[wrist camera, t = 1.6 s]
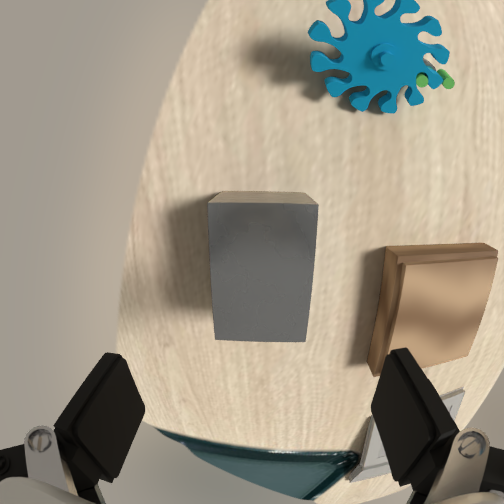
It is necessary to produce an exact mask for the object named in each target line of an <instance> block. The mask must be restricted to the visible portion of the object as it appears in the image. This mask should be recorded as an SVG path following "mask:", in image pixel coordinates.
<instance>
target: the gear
mask: <svg viewBox="0 0 504 504" xmlns="http://www.w3.org/2000/svg"><path fill="white" fill-rule="evenodd" d="M363 2H364V10H363V13H362V16H361V18H360V19H359V20H358V21H350V20H349V18H348V15H349V13H350V10H351V4H350V2H349V1H348V0H328V1H326V5H327V7H328V9H330V10H331V11H332V12H333V13H334V14H336V15H337V16H338V17H339V18H340V19H341V21H342V23H343V26H344V30H345V33H344V35H343V36H342V37H340V38H334V37H332V36H331V33H330V30H329V28H328V27H327V25H326V24H325V23H324V22H322V21H318V20H317V21H316V22H314V23H313V24H312V25H311V27H310V29H309V30H308V34H309V36H310V37H311V38H312V39H313V40H315V41H319V42H325V43H329V44H331V45H333V46H334V47H336V48H337V49H338V50H339V51H340V52H341V55H340V57H339V58H337V59H330V58H328V57H327V56H326V55H325V54H324V53H322V52H320V51H312V52H311V55H310V64H311V68H312V70H313V71H315V72H322V71H325V70H329V69H339V70H343V71H346V72H349V73H350V74H349V76H348V77H347V78H345V79H340V78H337V77H332V76H331V77H327V78H326V79H325V80H324V81H325V85H326V87H327V90H328V92H329V93H330V95H331V96H332V97H338V96H340V95H341V94H342V93H343V92H344V91H346V90H347V89H349V88H351V87H355V86H362V85H364V86H367V88H366V89H365V90H364V91H361V92H354V93H352V94H351V95H350V96H349V100H350V102H351V105H352V106H353V107H354V108H356V109H358V110H360V111H362V112H363V111H365V110H366V109H367V108H368V105H369V102H370V100H371V99H372V98H373V97H374V96H375V95H376V94H378V93H379V92H381V91H383V90H388V92H387V94H386V95H384V96H382V97H381V98H380V99H379V100H378V105H379V107H380V109H381V111H383V112H385V113H395V112H396V111H397V105H396V97H397V94H398V92H399V91H400V89H401V87H403V86H405V85H408V88H407V90H406V92H405V98H406V99H407V101H408V103H409V104H410V105H411V106H414V105H418V104H421V103H423V102H424V98H423V96H422V95H421V93H420V92H419V91H418V89H417V86H416V84H417V85H418V86H419V87H425V86H426V85H427V84H428V85H429V86H430V87H431V88H432V89H435V88H437V87H438V86H439V85H441V84H442V85H443V86H444V87H445V88H446V89H451V88H453V87H454V84H455V82H454V80H453V79H452V78H451V77H450V76H449V75H448V73H447V72H446V71H445V70H443V69H440V70H438V71H437V72H436V69H435V67H434V66H433V65H432V64H431V63H430V62H429V61H427V60H425V59H424V58H423V56H424V55H425V54H426V53H431V55H432V56H433V57H434V58H435V59H436V60H437V61H438V62H439V63H441V64H446V63H447V61H448V58H449V53H450V52H449V51H448V50H447V49H446V48H445V47H444V46H442V45H441V44H426V43H423V42H421V41H419V40H418V34H419V33H420V32H422V31H426V32H428V33H429V34H431V35H433V36H440V35H441V34H442V30H441V26H440V24H439V22H438V20H437V19H435V18H434V17H432V16H425V17H424V18H422V19H421V20H420V21H418V22H415V23H401V21H400V17H401V15H402V14H404V13H416V12H418V11H419V9H420V6H419V5H418V4H417V3H416V1H414V0H396V1H395V4H394V6H393V7H392V9H391V10H390V11H388V12H387V13H385V14H383V15H381V16H377V15H375V13H374V9H375V7H376V6H378V5H380V4H381V3H383V2H384V0H363Z"/></svg>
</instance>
